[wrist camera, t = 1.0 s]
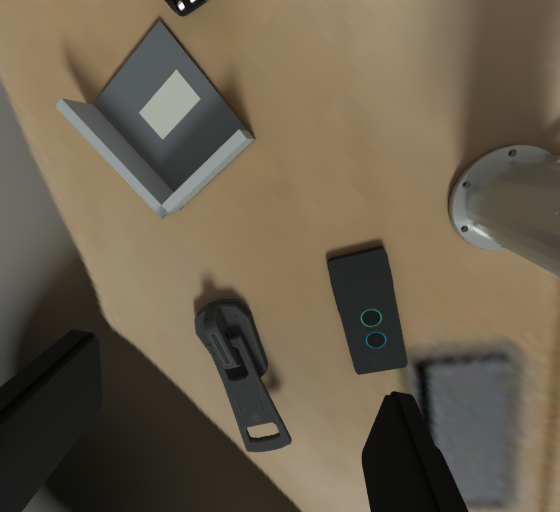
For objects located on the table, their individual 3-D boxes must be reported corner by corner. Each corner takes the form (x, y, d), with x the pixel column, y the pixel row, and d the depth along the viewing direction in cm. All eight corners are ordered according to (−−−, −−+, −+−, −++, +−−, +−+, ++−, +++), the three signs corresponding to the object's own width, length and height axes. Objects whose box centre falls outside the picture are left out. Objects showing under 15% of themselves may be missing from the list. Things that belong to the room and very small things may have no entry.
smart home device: (355, 376, 47) (325, 262, 40) (353, 368, 48) (324, 258, 42) (409, 367, 45) (387, 248, 39) (406, 359, 47) (384, 243, 40)
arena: (162, 22, 33) (134, -1, 28) (255, 139, 37) (246, 138, 31) (91, 111, 37) (55, 106, 32) (180, 209, 41) (162, 218, 36)
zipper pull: (245, 456, 48) (173, 333, 40) (252, 420, 54) (191, 308, 47) (296, 447, 46) (231, 316, 39) (298, 411, 52) (242, 292, 45)
